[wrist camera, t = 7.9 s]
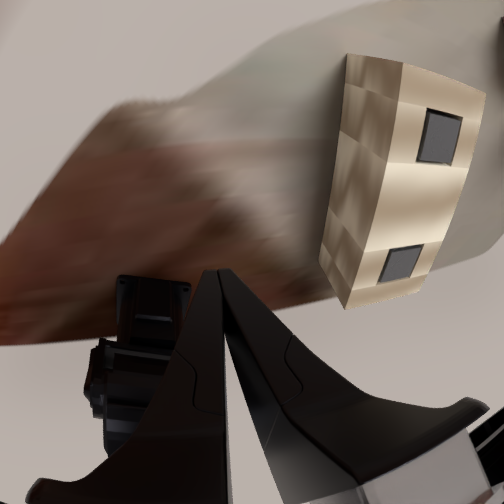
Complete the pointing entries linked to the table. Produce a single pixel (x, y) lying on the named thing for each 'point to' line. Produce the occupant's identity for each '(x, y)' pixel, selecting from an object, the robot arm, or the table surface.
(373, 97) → the block
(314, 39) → the table surface
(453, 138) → the peg near
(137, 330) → the robot arm
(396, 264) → the peg far
